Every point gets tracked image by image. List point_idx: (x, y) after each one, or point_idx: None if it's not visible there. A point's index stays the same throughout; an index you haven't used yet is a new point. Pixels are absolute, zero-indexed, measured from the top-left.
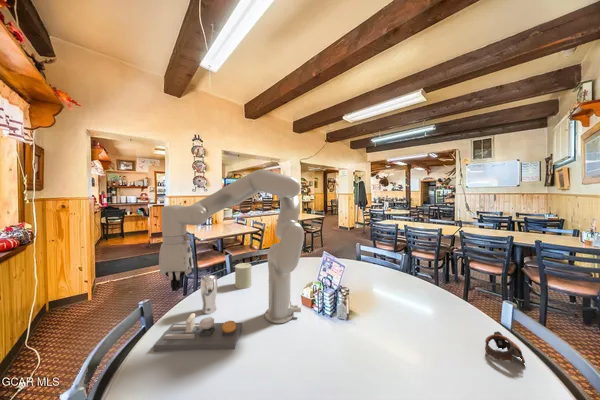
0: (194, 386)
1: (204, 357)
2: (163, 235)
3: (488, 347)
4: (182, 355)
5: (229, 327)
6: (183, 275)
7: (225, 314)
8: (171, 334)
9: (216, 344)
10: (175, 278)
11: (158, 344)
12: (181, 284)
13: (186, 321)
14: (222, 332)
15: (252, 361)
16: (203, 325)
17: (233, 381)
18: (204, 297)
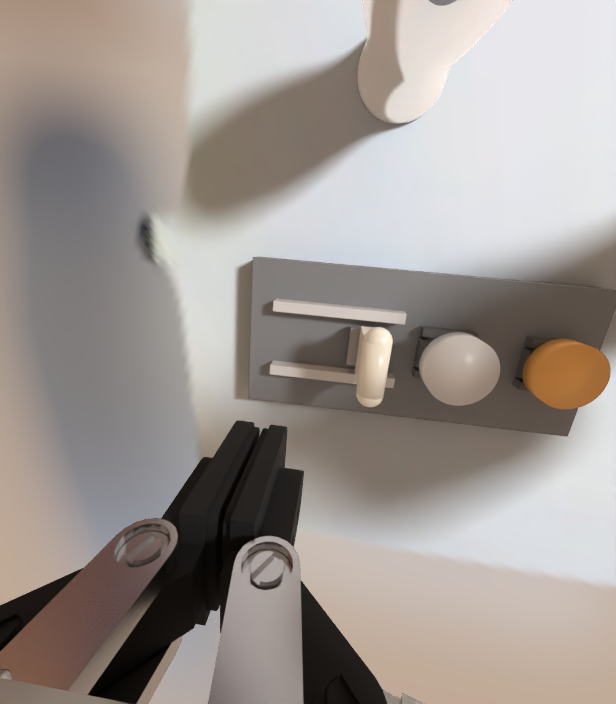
0: (432, 536)
1: (441, 445)
2: None
3: None
4: (362, 424)
5: (572, 401)
6: (328, 636)
7: (510, 140)
8: (292, 368)
9: (489, 425)
10: (202, 575)
11: (262, 395)
12: (301, 483)
13: (364, 405)
14: (520, 384)
15: (610, 488)
16: (447, 403)
17: (540, 541)
18: (400, 67)
